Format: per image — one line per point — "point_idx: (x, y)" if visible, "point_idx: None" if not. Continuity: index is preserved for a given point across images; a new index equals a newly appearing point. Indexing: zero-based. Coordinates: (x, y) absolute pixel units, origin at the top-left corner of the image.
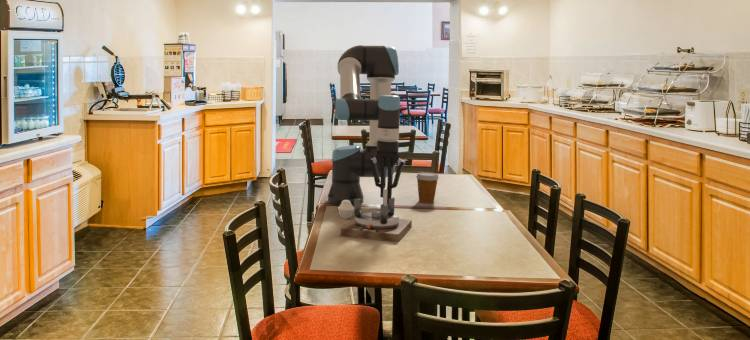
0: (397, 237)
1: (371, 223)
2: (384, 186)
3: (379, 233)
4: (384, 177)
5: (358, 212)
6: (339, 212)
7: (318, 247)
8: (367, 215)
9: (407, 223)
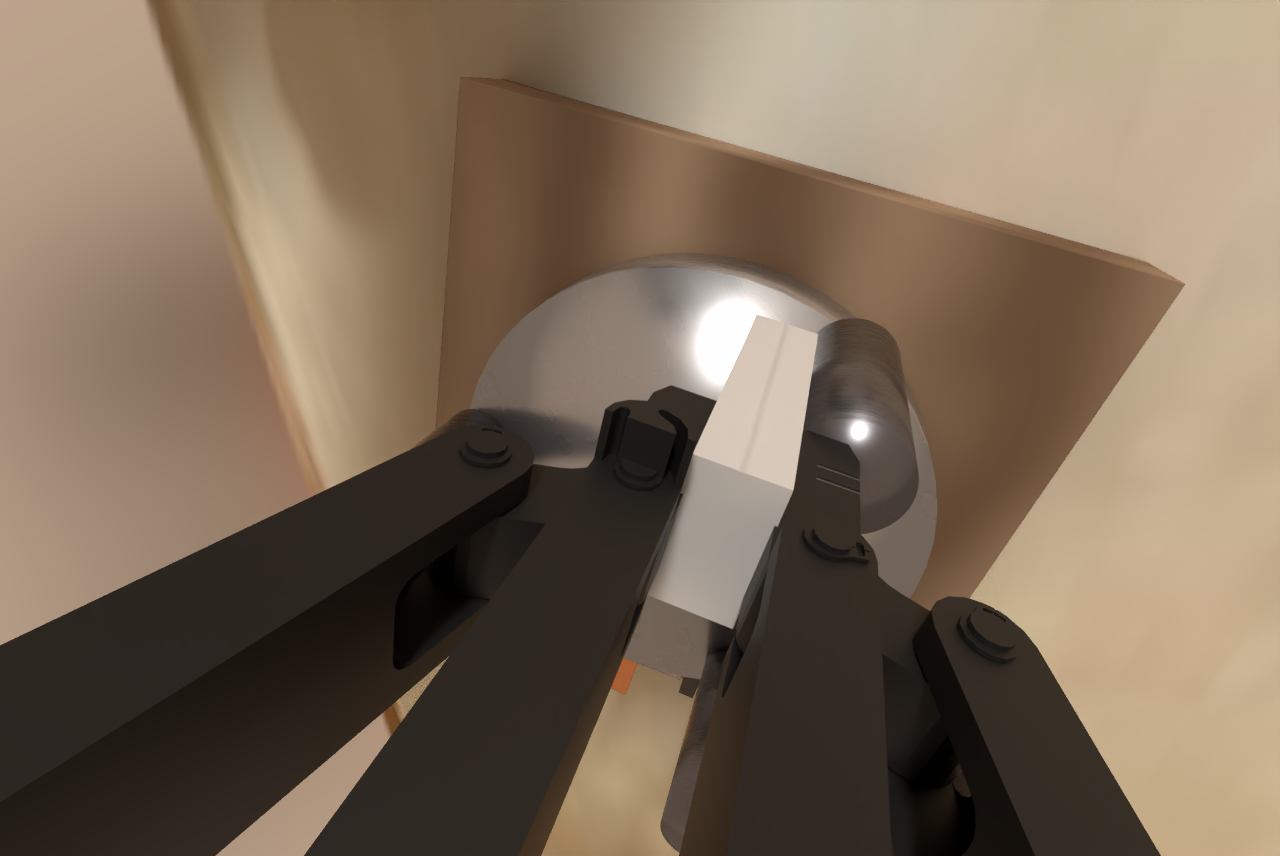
0: None
1: (631, 656)
2: (657, 560)
3: None
4: (556, 808)
5: None
6: None
7: (408, 707)
8: (570, 418)
9: (1051, 458)
